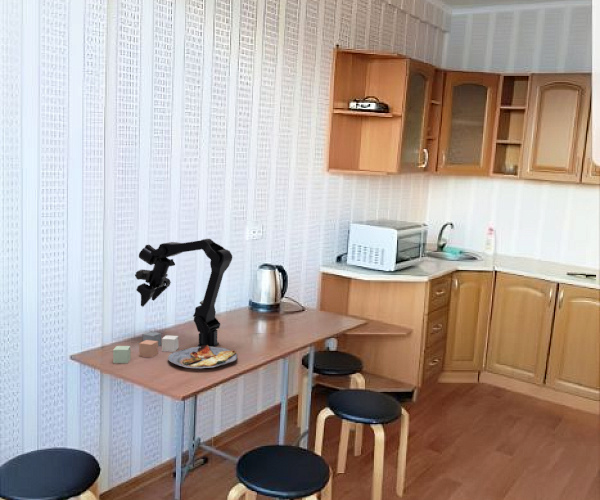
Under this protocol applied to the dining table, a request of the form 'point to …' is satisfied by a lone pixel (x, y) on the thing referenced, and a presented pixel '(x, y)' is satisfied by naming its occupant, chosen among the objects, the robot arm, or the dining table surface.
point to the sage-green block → (121, 354)
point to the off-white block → (169, 343)
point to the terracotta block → (148, 348)
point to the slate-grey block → (152, 337)
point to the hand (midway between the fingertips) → (147, 303)
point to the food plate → (203, 357)
